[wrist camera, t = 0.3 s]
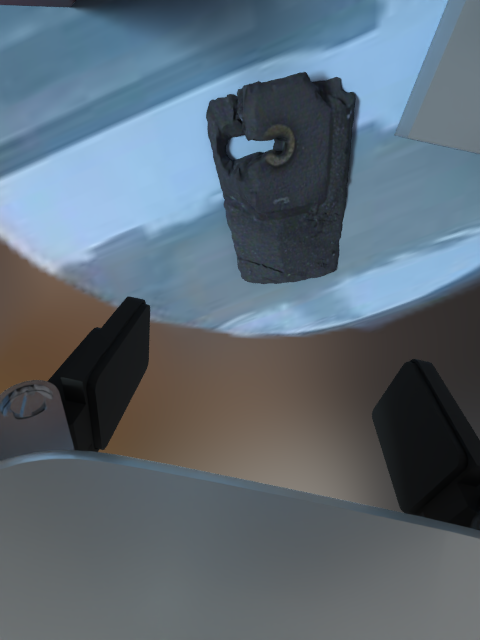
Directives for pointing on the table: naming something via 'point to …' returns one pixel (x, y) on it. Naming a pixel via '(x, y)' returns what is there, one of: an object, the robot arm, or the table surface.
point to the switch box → (448, 84)
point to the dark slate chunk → (285, 175)
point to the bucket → (39, 3)
